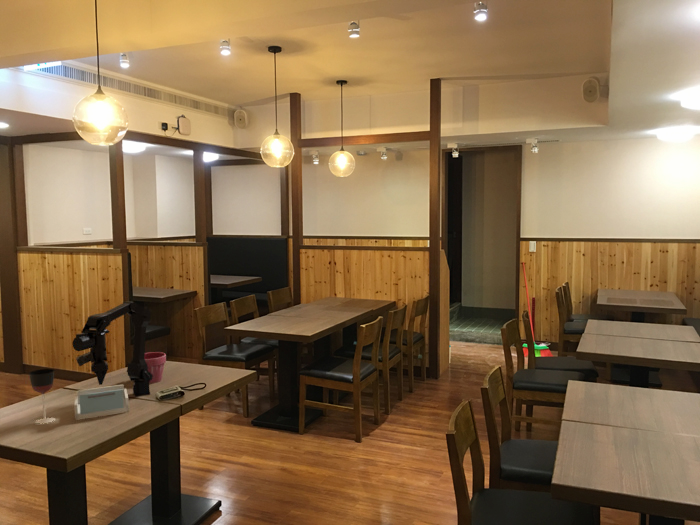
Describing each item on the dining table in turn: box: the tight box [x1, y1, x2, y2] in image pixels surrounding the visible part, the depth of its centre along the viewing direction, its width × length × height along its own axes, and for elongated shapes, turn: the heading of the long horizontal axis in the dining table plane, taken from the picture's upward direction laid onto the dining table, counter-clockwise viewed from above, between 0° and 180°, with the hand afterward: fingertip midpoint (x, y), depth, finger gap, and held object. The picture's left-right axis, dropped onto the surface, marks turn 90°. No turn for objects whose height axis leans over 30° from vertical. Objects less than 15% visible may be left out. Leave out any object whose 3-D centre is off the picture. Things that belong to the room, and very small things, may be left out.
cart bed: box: [73, 384, 130, 421], centre depth 234 cm, size 20×14×8 cm
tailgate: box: [79, 389, 124, 414], centre depth 227 cm, size 16×2×8 cm, turn 115°
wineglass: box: [28, 368, 56, 425], centre depth 223 cm, size 8×9×20 cm
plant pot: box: [144, 351, 167, 384], centre depth 275 cm, size 14×14×13 cm
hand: (100, 382), depth 233 cm, fingers open, 6 cm apart
